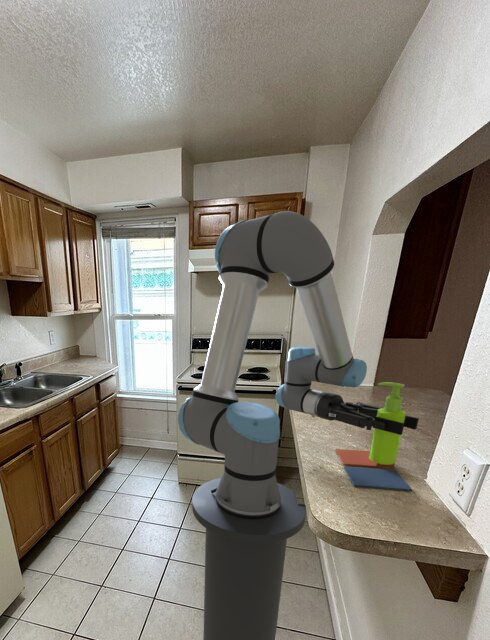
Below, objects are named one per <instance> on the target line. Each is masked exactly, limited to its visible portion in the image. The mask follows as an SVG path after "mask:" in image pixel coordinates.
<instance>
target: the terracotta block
mask: <svg viewBox="0 0 490 640" xmlns="http://www.w3.org/2000/svg"><path fill="white" fill-rule="evenodd" d="M374 464H375V465H376V466H382V467H395V464H396V462H395V463H394V464H391V465H384V464H379V463H375V462H374Z"/></svg>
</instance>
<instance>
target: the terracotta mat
mask: <svg viewBox="0 0 490 640" xmlns="http://www.w3.org/2000/svg"><path fill="white" fill-rule="evenodd" d="M335 452H336V454H337V455H338V457H339V459H340V461H341V462H342V464H343V466H348V467H363V468H377V469H392V470H395V466H394V467H382V466H376V465H375V464H374V462H373V461H371V460H370V459H369V455H370V450H355V449H341V448H340V449H339V448H338V449H337V448H336V449H335Z"/></svg>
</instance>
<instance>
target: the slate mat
mask: <svg viewBox="0 0 490 640" xmlns="http://www.w3.org/2000/svg"><path fill="white" fill-rule="evenodd" d="M343 469H344V471H345V472H346V474H347V476H348V478H349V480H350V481H351V483H352V485H353V486H354V487H355V488H356V487H357V488H367V489H379V490H393V491H406V492H413V489H412V488H411V486H410V485H409V484H408V482H406V480H405V479H404V478H403V477H402V476H401V475H400V474H399V473H398V471H397V470H396V469H387V468H373V467H359V466H343Z"/></svg>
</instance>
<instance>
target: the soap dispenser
mask: <svg viewBox="0 0 490 640" xmlns="http://www.w3.org/2000/svg"><path fill="white" fill-rule="evenodd" d="M377 385H378V386H379V387H381V386H383V387H384V386H386V387H392V388H391V393H390V394H389V395H387V396H386V397H385V401H384V402H385V403H384V406H383V407H382V408H381V409H378V412H377V417H380V418H384V419H388V420H392V421H396V422H401V423H404V420H405V416H406V415H407V412H406V411H404V410H402V405H403V401H404V398H403V397H402V396H401V395H400V394H401V390H402V389H403V388H405V387H406V384H404V383H399V382H394V381H381V382H379V383H377ZM401 438H402V435H399V434H395V433H391V432H387V431H384V430H380V429H376V428H373V433H372V438H371V444H370V450H369V451H370V455H369V459H370V460H371V461H373V462H375V463H379V464H384V465H391V464H394V463H395V464H396V460H397V456H398V451H399V447H400V442H401Z"/></svg>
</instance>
